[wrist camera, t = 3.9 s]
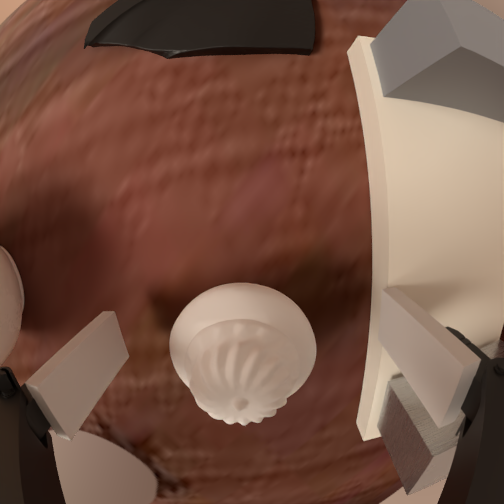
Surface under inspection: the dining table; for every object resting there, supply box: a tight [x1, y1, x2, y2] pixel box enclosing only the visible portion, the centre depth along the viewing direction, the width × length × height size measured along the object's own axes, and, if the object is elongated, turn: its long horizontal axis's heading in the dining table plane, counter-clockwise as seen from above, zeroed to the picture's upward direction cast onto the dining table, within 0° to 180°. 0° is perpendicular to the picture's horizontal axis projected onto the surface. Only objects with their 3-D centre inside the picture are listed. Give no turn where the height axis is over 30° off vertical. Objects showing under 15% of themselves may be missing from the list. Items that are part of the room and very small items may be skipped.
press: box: [347, 0, 504, 441], centre depth 10 cm, size 24×11×8 cm, turn 6°
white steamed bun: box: [169, 282, 316, 425], centre depth 11 cm, size 6×6×7 cm
